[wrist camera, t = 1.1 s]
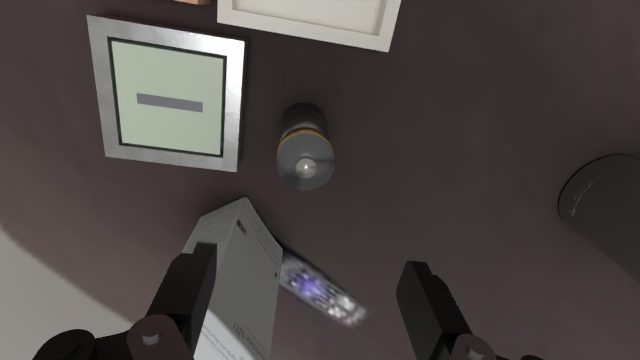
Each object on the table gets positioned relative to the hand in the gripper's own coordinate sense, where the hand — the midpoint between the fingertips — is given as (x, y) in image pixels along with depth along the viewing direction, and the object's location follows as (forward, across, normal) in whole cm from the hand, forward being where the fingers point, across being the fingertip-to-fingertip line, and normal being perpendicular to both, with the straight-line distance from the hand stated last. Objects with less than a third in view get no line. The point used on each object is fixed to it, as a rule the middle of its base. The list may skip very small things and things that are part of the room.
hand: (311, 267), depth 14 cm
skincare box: (+19, +5, +13) cm, 24 cm away
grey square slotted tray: (+19, +11, -1) cm, 22 cm away
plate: (+18, +11, -1) cm, 21 cm away
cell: (+19, 0, 0) cm, 19 cm away
